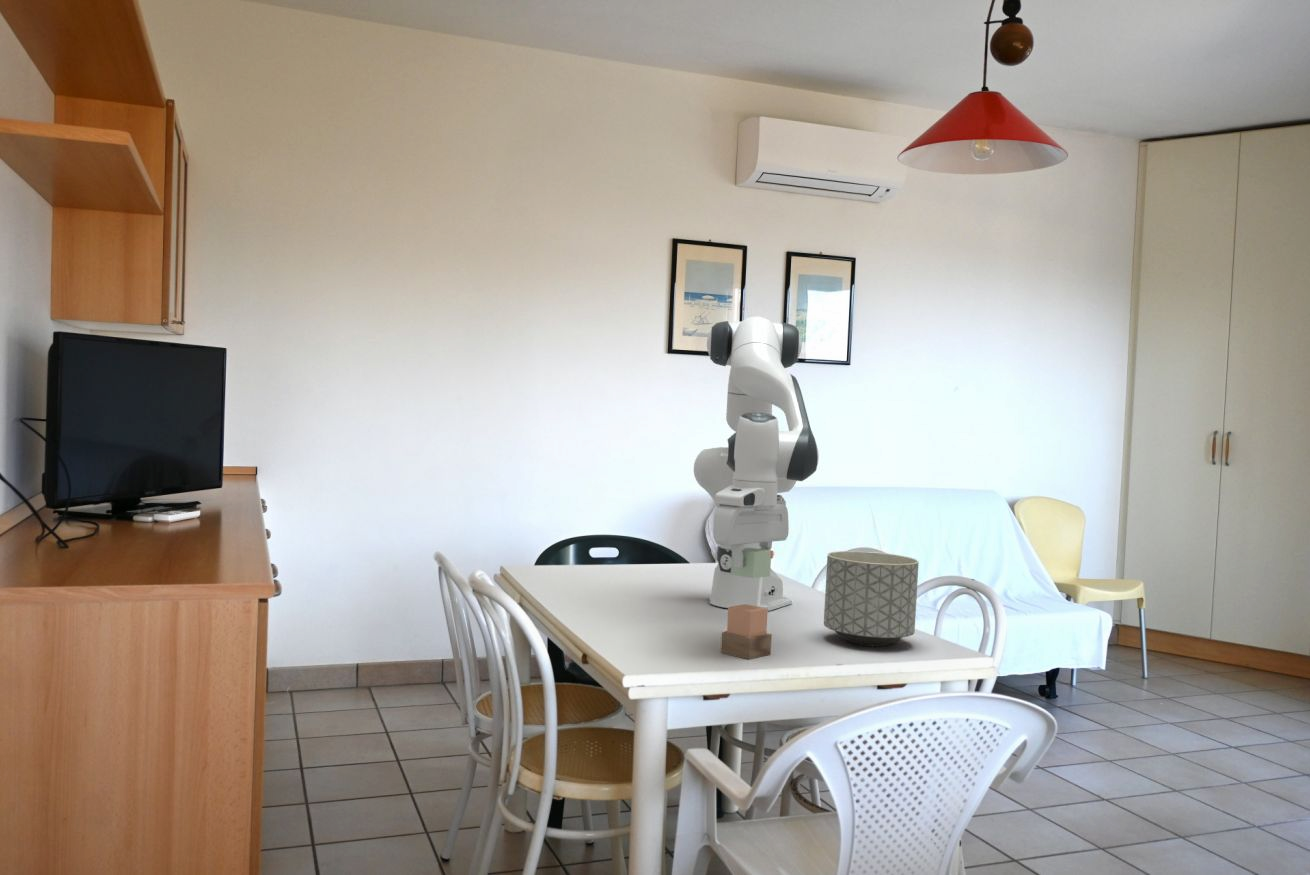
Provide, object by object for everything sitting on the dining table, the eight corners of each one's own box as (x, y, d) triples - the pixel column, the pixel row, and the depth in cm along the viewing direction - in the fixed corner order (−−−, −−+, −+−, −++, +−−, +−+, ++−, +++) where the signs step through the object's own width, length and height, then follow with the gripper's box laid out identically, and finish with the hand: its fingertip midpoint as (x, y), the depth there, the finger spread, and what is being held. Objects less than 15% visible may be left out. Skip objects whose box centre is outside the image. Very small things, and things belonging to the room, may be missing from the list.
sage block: (747, 572, 200) (749, 547, 200) (770, 576, 196) (771, 550, 196) (730, 574, 196) (732, 549, 196) (753, 578, 192) (754, 552, 192)
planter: (896, 657, 200) (901, 567, 200) (808, 641, 210) (813, 556, 210) (925, 642, 216) (930, 558, 216) (842, 628, 226) (846, 548, 226)
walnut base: (742, 647, 201) (743, 627, 201) (770, 654, 197) (771, 634, 197) (720, 652, 196) (721, 632, 196) (749, 659, 191) (750, 638, 191)
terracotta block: (744, 628, 200) (745, 604, 200) (766, 633, 197) (767, 608, 196) (727, 632, 196) (728, 606, 196) (749, 637, 193) (750, 611, 192)
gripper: (772, 493, 206) (769, 560, 206) (709, 494, 191) (705, 567, 191) (798, 495, 201) (794, 564, 202) (735, 497, 186) (731, 571, 187)
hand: (750, 565), depth 196 cm, fingers closed on sage block, 5 cm apart
